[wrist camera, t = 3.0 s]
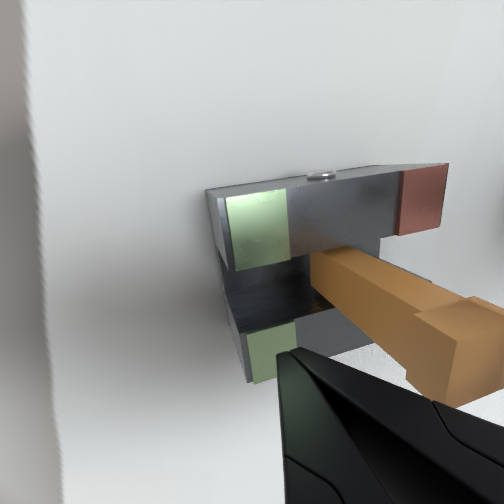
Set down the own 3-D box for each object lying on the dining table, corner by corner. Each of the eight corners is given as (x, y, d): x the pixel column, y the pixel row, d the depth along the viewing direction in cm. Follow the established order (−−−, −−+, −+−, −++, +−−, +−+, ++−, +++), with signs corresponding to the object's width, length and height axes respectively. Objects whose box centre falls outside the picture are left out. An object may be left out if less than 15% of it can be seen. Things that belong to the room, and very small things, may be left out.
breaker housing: (373, 160, 16) (454, 156, 11) (367, 292, 19) (427, 332, 15) (204, 184, 14) (216, 191, 9) (230, 329, 17) (248, 390, 12)
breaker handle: (340, 238, 14) (525, 317, 6) (340, 277, 14) (503, 388, 7) (303, 246, 13) (457, 341, 6) (305, 286, 14) (442, 413, 7)
